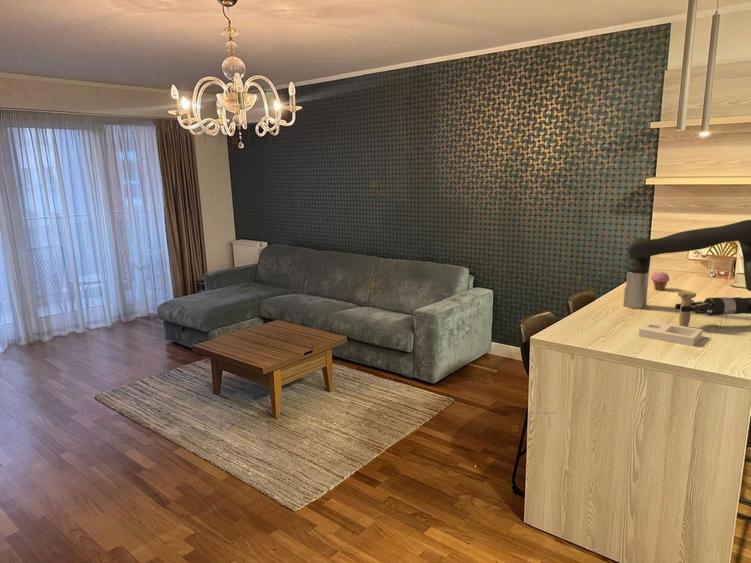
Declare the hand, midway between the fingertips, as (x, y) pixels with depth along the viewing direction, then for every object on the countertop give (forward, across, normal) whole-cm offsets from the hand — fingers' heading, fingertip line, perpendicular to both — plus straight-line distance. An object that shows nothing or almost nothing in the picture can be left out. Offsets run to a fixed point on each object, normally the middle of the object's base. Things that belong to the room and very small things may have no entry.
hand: (678, 308), depth 210 cm
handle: (-3, 0, +9) cm, 9 cm away
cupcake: (-29, -64, +9) cm, 71 cm away
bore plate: (+9, +11, +8) cm, 16 cm away
